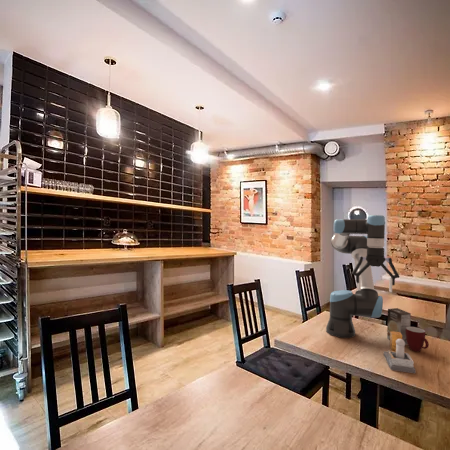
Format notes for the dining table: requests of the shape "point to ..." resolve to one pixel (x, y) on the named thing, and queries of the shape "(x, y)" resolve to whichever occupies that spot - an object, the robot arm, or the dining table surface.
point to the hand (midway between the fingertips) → (374, 290)
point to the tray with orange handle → (392, 358)
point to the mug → (416, 338)
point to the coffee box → (398, 322)
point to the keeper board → (411, 370)
